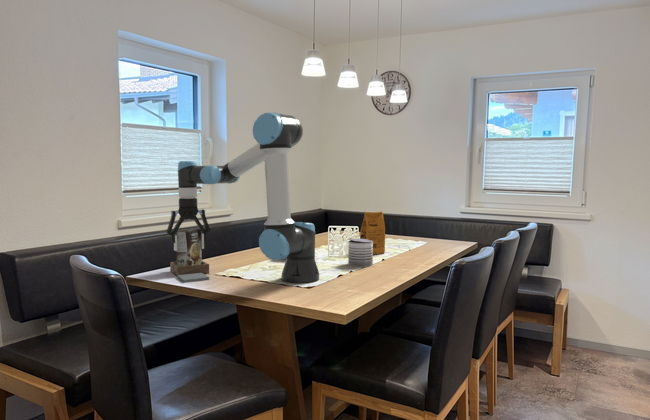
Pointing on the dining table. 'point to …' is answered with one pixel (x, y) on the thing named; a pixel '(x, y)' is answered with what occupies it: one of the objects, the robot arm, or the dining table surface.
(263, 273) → the dining table surface
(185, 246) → the coffee box
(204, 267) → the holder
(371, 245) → the can
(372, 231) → the coffee package
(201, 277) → the pad
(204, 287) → the dining table surface
